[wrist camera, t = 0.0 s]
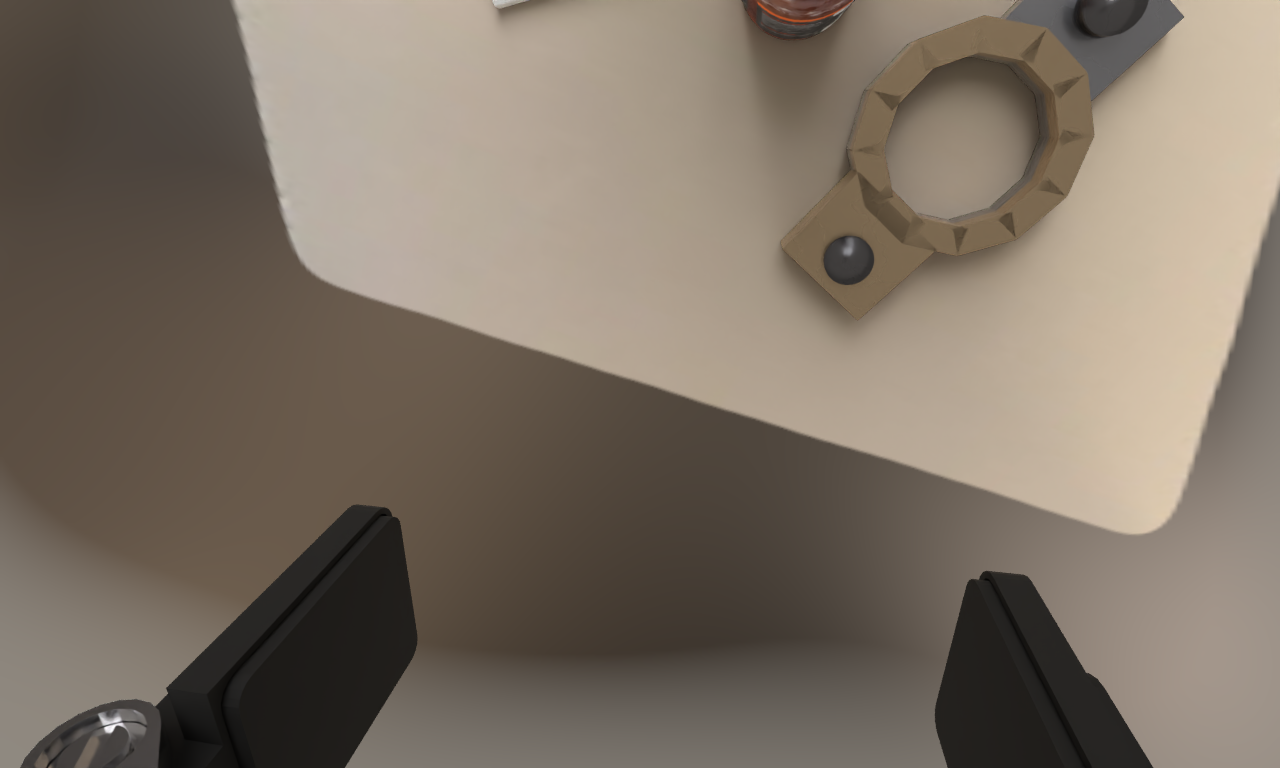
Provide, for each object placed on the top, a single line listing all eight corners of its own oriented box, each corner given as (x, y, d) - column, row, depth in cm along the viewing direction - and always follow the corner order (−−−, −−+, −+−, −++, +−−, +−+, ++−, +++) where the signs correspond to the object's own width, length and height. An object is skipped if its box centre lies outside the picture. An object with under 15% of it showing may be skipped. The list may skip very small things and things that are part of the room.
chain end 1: (973, -27, 32) (994, -39, 30) (1116, 131, 34) (1148, 133, 31) (750, 212, 38) (750, 219, 36) (880, 336, 40) (889, 353, 37)
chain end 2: (1055, -113, 31) (1078, -130, 28) (1201, 57, 32) (1234, 53, 30) (807, 150, 37) (811, 153, 34) (941, 283, 38) (952, 294, 36)
